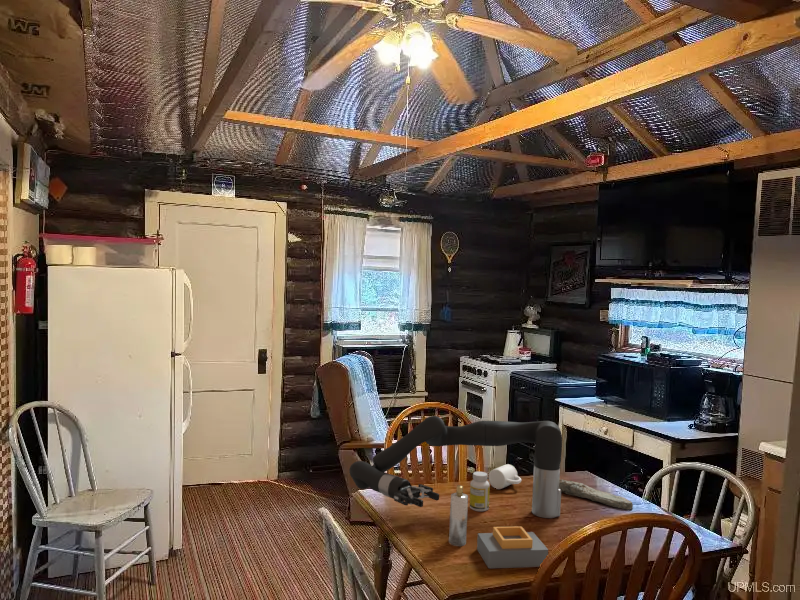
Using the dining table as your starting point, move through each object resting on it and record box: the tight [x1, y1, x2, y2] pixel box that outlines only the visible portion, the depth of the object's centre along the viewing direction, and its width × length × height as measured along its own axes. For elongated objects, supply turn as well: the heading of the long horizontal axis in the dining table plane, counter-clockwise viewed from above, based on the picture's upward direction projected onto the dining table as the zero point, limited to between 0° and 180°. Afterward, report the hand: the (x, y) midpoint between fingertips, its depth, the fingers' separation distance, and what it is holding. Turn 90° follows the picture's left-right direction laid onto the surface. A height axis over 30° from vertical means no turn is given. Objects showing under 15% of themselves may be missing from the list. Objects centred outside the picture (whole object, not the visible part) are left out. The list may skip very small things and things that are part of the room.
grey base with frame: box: [476, 525, 549, 569], centre depth 173 cm, size 18×14×8 cm
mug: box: [488, 463, 522, 490], centre depth 234 cm, size 12×10×8 cm
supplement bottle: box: [469, 471, 491, 512], centre depth 210 cm, size 7×7×13 cm
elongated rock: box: [559, 478, 634, 510], centre depth 227 cm, size 35×5×10 cm
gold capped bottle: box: [448, 484, 469, 547], centre depth 181 cm, size 5×5×18 cm
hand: (430, 500), depth 189 cm, fingers open, 8 cm apart
